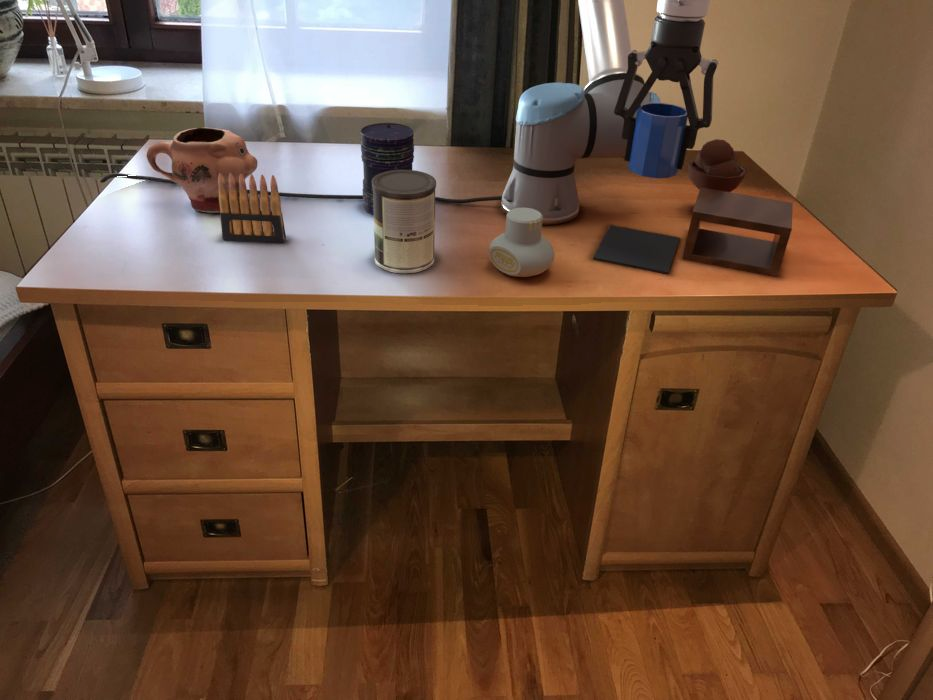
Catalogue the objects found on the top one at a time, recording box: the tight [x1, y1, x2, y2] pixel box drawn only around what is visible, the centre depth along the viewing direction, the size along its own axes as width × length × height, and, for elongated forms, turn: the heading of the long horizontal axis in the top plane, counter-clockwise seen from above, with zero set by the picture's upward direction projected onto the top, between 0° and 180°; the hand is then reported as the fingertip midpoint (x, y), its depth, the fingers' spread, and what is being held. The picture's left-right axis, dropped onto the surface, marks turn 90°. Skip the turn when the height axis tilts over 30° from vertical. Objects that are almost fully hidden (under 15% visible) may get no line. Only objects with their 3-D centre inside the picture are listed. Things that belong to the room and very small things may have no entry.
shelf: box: [681, 188, 794, 278], centre depth 134 cm, size 16×12×9 cm
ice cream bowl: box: [687, 138, 748, 193], centre depth 147 cm, size 11×11×15 cm
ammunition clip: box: [218, 173, 287, 244], centre depth 130 cm, size 11×2×12 cm, turn 89°
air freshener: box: [488, 208, 555, 278], centre depth 125 cm, size 11×8×10 cm
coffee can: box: [372, 169, 437, 274], centre depth 125 cm, size 10×10×14 cm
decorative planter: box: [146, 127, 259, 213], centre depth 141 cm, size 20×12×14 cm, turn 95°
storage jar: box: [360, 122, 415, 216], centre depth 143 cm, size 10×10×15 cm
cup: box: [627, 102, 689, 179], centre depth 125 cm, size 8×8×10 cm
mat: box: [592, 224, 681, 275], centre depth 136 cm, size 13×15×1 cm
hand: (653, 162), depth 127 cm, fingers closed on cup, 8 cm apart
